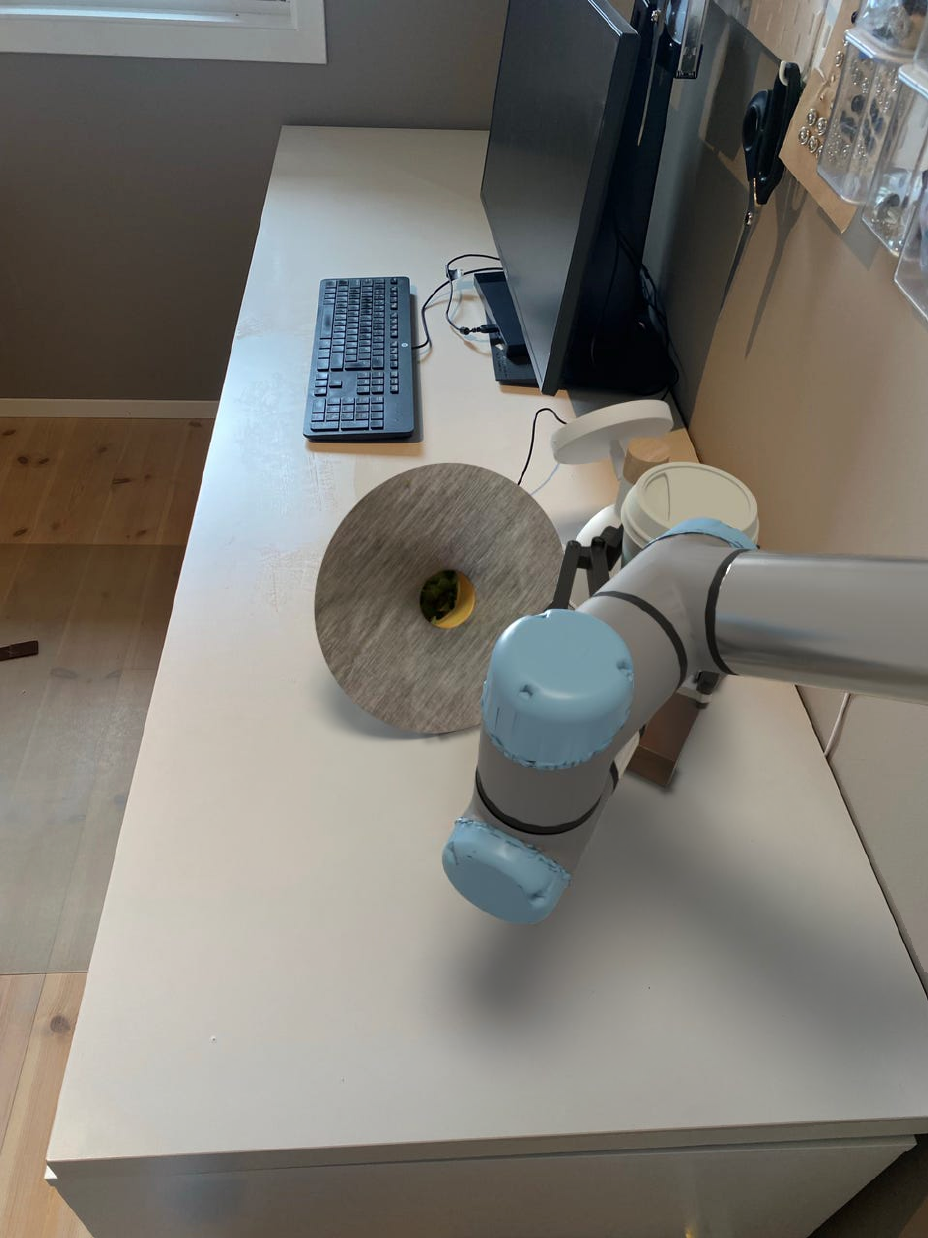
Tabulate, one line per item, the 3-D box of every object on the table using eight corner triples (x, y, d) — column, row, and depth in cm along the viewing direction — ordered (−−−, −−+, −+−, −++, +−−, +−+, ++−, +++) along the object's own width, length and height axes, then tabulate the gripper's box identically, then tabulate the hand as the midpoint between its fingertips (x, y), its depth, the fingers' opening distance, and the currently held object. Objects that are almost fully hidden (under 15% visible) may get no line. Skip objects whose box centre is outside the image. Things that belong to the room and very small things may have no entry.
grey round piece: (550, 658, 102) (480, 447, 98) (618, 678, 85) (537, 425, 81) (344, 744, 96) (260, 523, 92) (373, 784, 80) (272, 516, 76)
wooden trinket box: (719, 673, 93) (729, 647, 90) (666, 787, 83) (676, 762, 80) (611, 629, 96) (617, 602, 93) (547, 733, 86) (552, 707, 83)
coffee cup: (637, 573, 85) (671, 440, 74) (738, 629, 80) (791, 496, 70) (572, 634, 79) (599, 498, 68) (677, 698, 75) (724, 564, 64)
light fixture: (563, 647, 102) (636, 617, 83) (519, 471, 104) (579, 402, 85) (664, 624, 105) (756, 591, 86) (618, 454, 107) (698, 384, 88)
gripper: (449, 686, 69) (568, 524, 83) (731, 814, 62) (808, 615, 76) (453, 618, 63) (579, 457, 77) (762, 749, 57) (839, 548, 71)
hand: (693, 535), depth 77 cm, fingers closed on coffee cup, 9 cm apart
